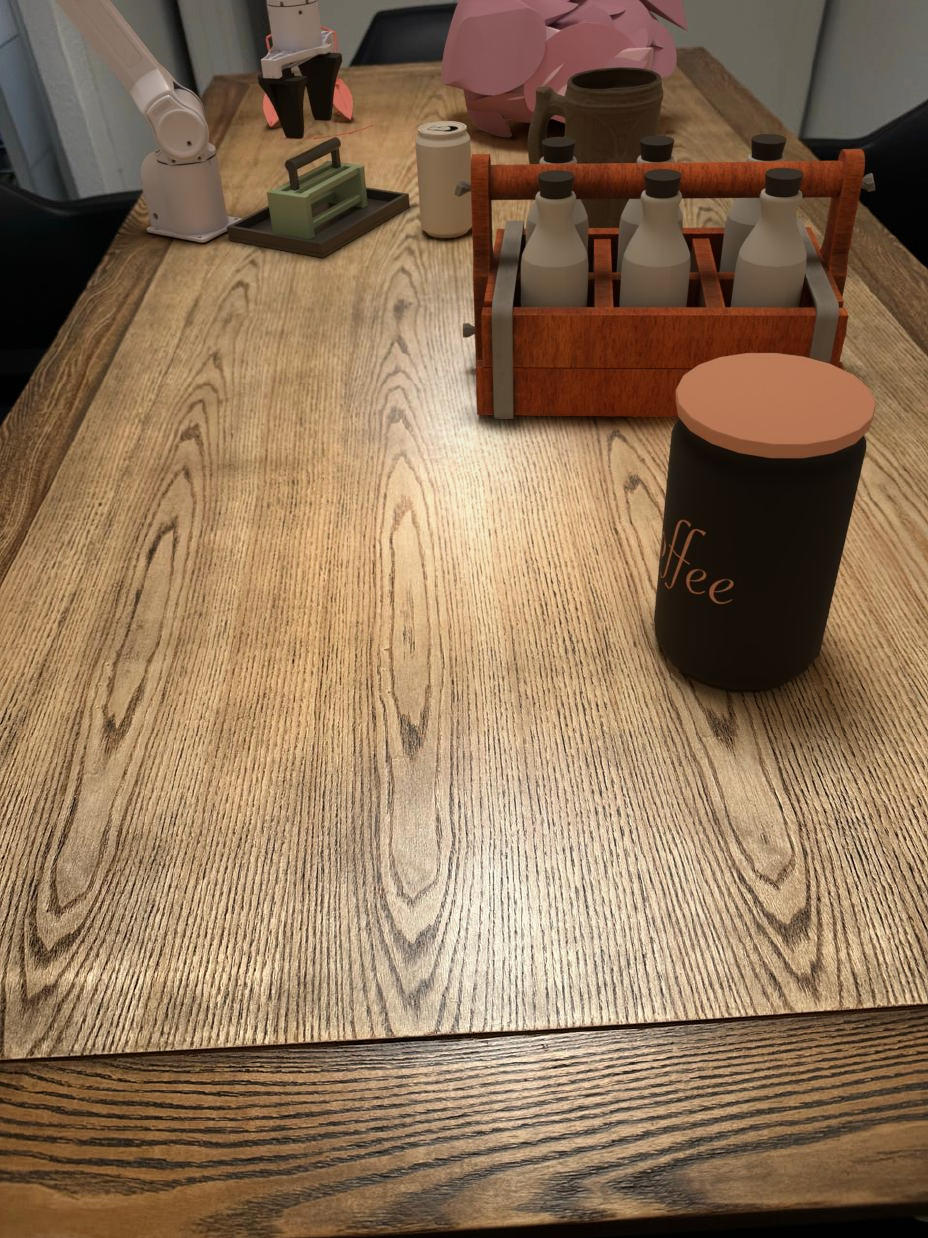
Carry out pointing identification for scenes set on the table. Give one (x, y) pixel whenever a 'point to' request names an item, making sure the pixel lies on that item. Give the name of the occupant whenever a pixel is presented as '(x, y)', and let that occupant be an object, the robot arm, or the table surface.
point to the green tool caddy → (315, 191)
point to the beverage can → (443, 178)
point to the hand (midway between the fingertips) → (309, 128)
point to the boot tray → (322, 225)
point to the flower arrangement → (548, 49)
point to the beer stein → (601, 124)
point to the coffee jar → (757, 515)
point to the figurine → (340, 100)
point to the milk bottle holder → (650, 275)
